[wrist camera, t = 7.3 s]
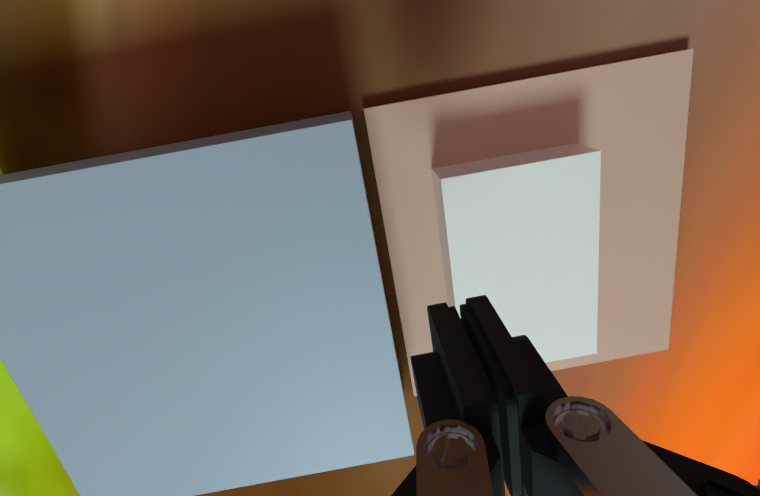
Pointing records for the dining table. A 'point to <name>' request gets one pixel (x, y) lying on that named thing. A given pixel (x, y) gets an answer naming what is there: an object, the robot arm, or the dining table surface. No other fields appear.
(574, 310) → the tile
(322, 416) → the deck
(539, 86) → the mat
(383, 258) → the dining table surface
